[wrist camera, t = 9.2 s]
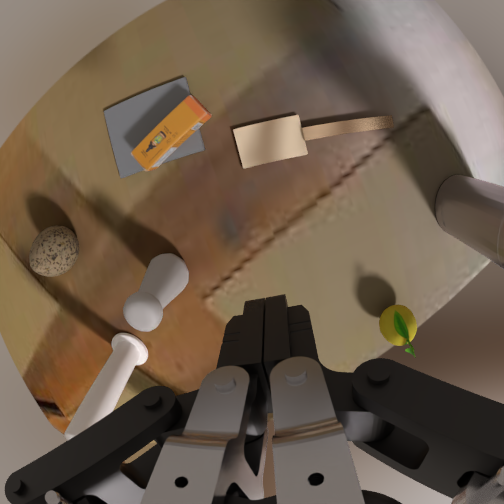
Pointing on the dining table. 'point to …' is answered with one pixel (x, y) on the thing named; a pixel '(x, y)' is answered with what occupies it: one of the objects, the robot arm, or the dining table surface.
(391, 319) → the lemon
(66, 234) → the decorative egg
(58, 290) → the dining table surface
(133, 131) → the mat
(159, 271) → the salt shaker
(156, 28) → the dining table surface
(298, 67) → the dining table surface
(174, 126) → the supplement box
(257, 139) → the turner
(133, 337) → the candle
